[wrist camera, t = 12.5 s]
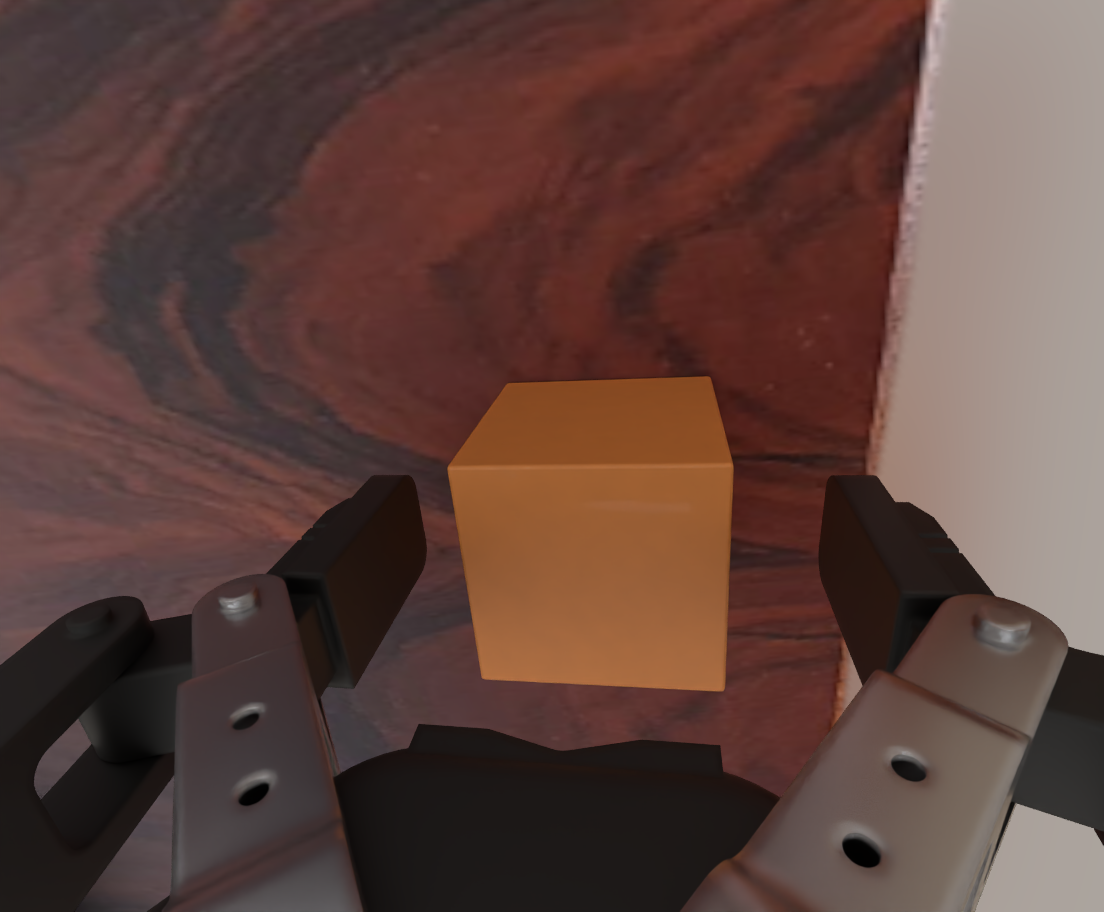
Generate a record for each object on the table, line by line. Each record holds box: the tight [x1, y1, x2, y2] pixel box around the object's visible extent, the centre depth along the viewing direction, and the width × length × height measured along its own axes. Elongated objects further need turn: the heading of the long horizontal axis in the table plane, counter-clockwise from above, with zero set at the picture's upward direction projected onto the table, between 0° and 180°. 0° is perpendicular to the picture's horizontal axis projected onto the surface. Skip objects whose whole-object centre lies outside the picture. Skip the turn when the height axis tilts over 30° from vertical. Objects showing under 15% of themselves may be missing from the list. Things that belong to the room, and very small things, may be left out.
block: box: [447, 376, 734, 691], centre depth 13 cm, size 5×5×5 cm
